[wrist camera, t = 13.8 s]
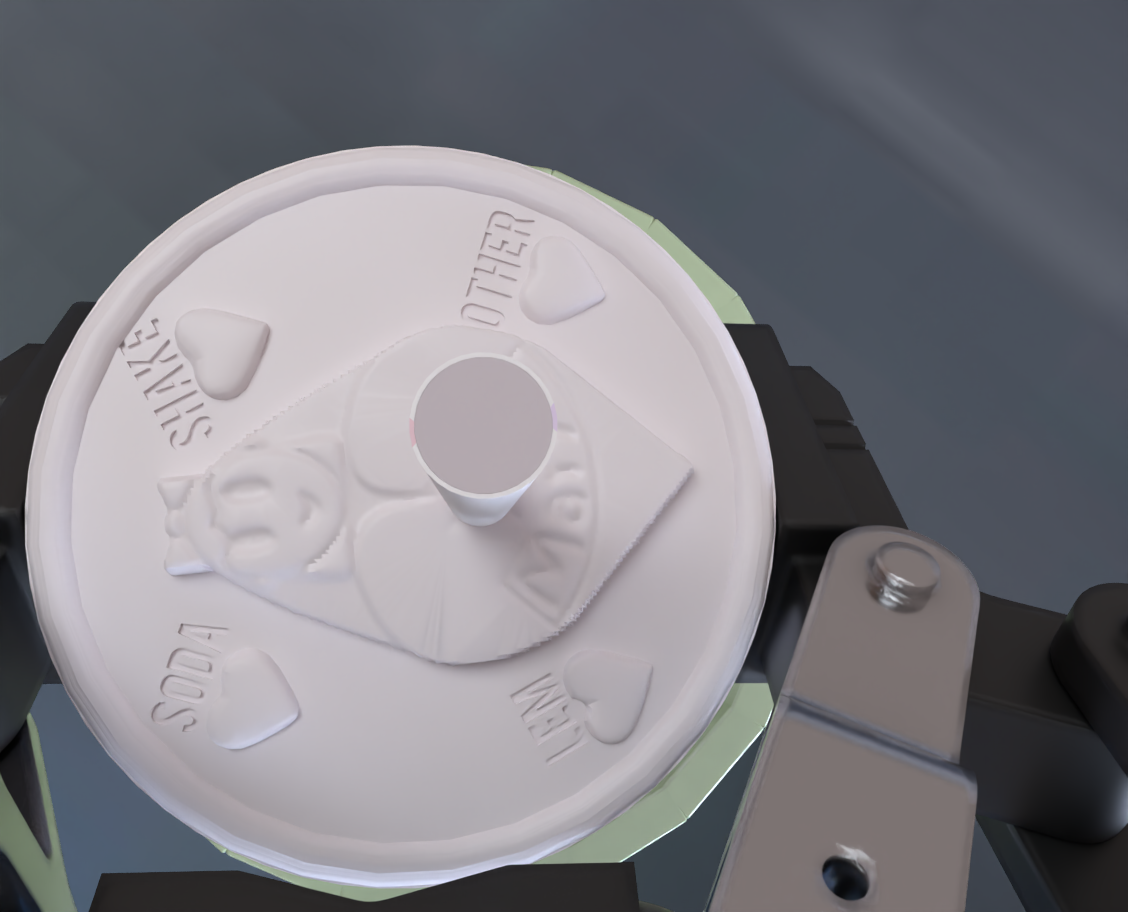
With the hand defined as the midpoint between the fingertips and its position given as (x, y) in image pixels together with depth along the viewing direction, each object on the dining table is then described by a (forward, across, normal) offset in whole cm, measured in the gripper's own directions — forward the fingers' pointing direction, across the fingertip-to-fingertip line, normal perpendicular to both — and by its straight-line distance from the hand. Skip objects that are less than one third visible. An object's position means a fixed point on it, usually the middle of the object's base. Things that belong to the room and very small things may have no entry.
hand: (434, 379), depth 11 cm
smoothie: (+3, 0, +6) cm, 7 cm away
